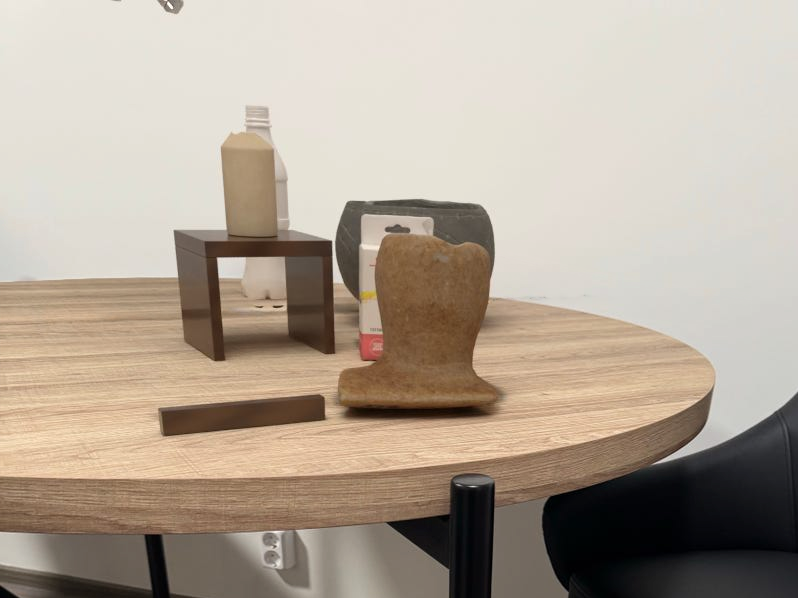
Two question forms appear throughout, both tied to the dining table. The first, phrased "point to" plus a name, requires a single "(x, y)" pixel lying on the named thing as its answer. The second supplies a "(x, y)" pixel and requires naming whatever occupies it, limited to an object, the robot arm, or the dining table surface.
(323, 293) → the shelf unit
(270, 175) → the candle
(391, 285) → the tan flared-base block
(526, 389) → the dining table surface
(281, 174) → the water bottle
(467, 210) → the bowl
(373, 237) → the ink cartridge box
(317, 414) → the rail
